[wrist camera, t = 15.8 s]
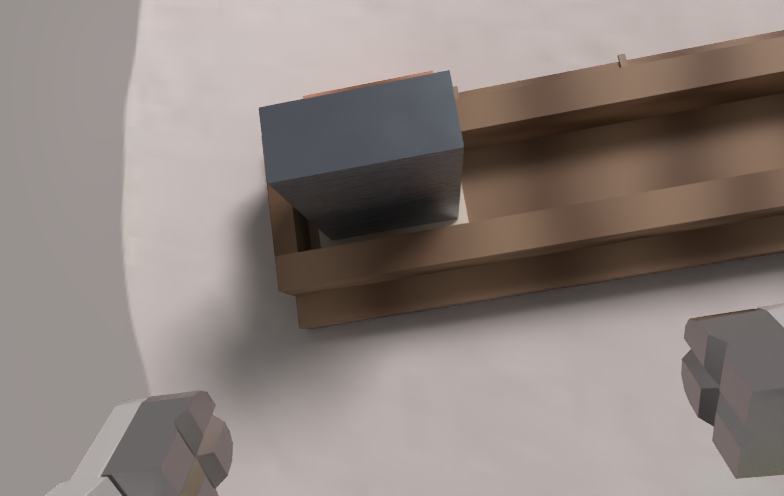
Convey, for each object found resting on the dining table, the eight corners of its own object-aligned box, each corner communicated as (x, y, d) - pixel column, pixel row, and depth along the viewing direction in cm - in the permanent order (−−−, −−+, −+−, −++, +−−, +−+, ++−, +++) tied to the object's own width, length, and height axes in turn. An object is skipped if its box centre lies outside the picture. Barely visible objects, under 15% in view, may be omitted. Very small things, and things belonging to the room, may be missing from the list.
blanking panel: (448, 167, 25) (449, 70, 16) (458, 218, 24) (464, 147, 15) (325, 190, 25) (258, 107, 16) (331, 240, 25) (267, 183, 16)
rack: (796, 36, 26) (859, -20, 22) (865, 238, 24) (948, 218, 20) (284, 134, 28) (257, 99, 24) (308, 329, 26) (282, 326, 22)
